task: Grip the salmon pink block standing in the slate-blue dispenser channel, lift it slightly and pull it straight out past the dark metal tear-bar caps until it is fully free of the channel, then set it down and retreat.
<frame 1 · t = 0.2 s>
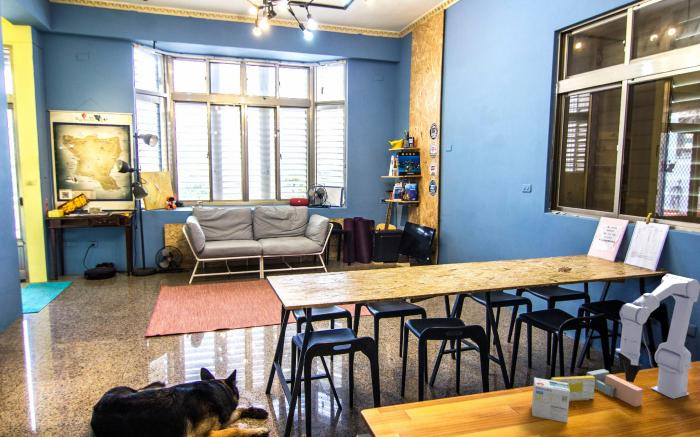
hand: (626, 376, 155), 10 cm above the table, fingers open, 7 cm apart
salmon pink block: (621, 397, 161), on the table
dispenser: (609, 390, 166), on the table
candy box: (571, 400, 158), on the table
light bulb box: (548, 415, 148), on the table
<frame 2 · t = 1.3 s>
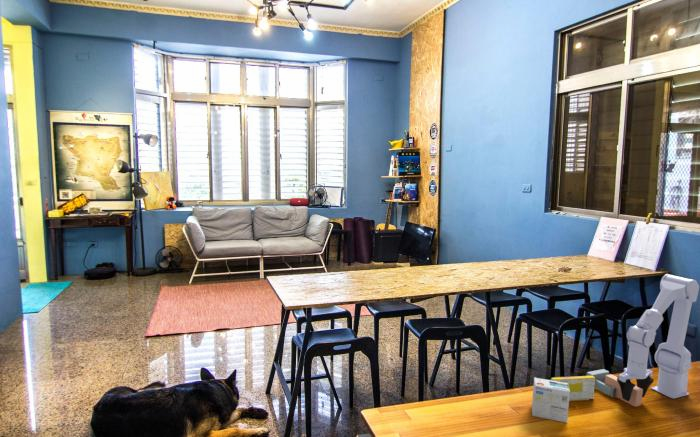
hand: (633, 397, 157), 2 cm above the table, fingers open, 7 cm apart
nothing on the table moved.
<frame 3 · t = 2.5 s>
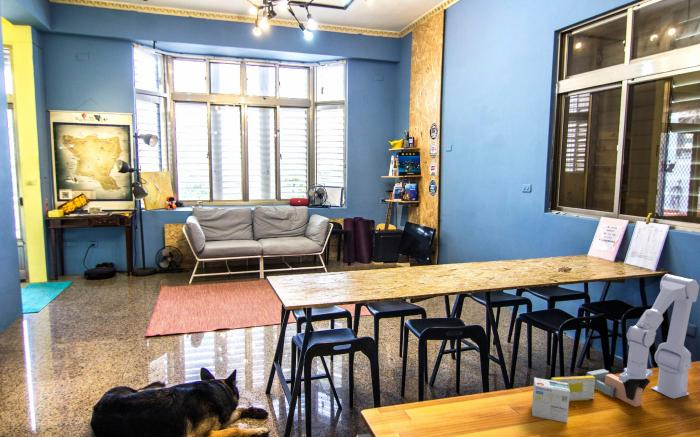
hand: (633, 397, 157), 2 cm above the table, fingers closed on salmon pink block, 3 cm apart
salmon pink block: (621, 397, 161), on the table, touching gripper
everything else where it was.
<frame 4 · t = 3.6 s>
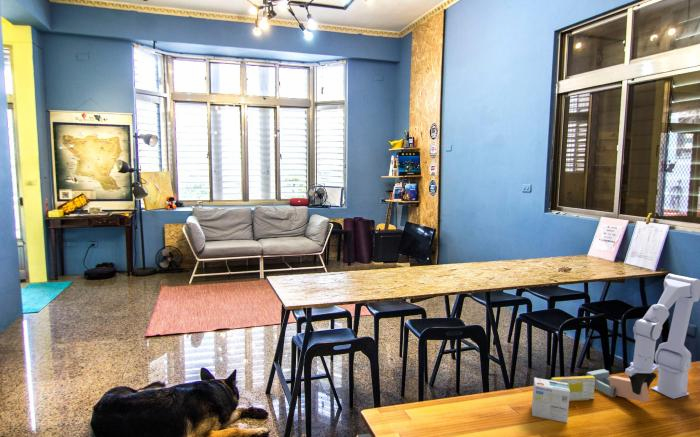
hand: (639, 392, 155), 5 cm above the table, fingers closed on salmon pink block, 3 cm apart
salmon pink block: (629, 397, 159), point 1 cm above the table, tilted 14°, touching gripper
everything else where it was.
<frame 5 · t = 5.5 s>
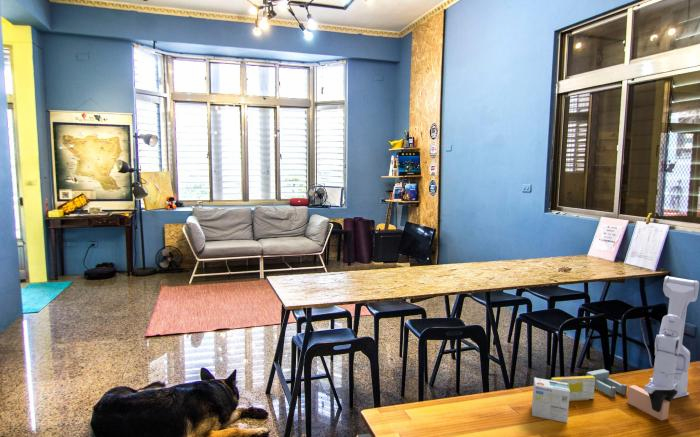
hand: (659, 409, 149), 2 cm above the table, fingers closed on salmon pink block, 3 cm apart
salmon pink block: (646, 410, 153), on the table, touching gripper
everything else where it was.
when the fingers open (2 cm above the table, at t = 6.0 s): salmon pink block stays where it is, on the table.
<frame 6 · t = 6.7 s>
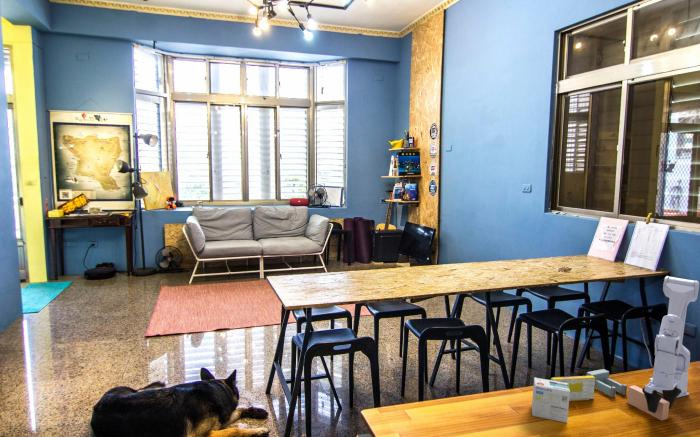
hand: (659, 409, 149), 2 cm above the table, fingers open, 7 cm apart
salmon pink block: (646, 410, 153), on the table
everything else where it was.
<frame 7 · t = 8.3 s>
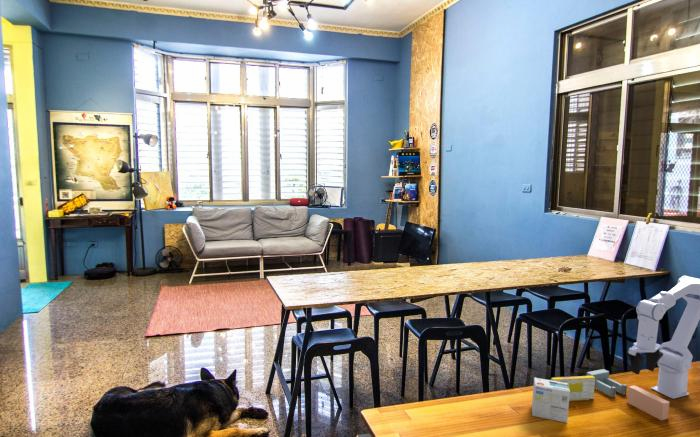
hand: (642, 371, 159), 10 cm above the table, fingers open, 7 cm apart
nothing on the table moved.
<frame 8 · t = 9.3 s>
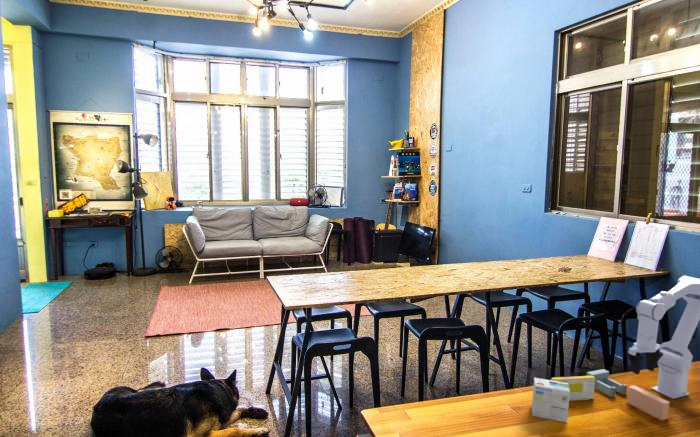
hand: (642, 371, 159), 10 cm above the table, fingers open, 7 cm apart
nothing on the table moved.
at the end: salmon pink block inside the target area (4.0 cm from its centre), on the table; salmon pink block moved 9.0 cm from its start; the gripper is holding nothing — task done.
